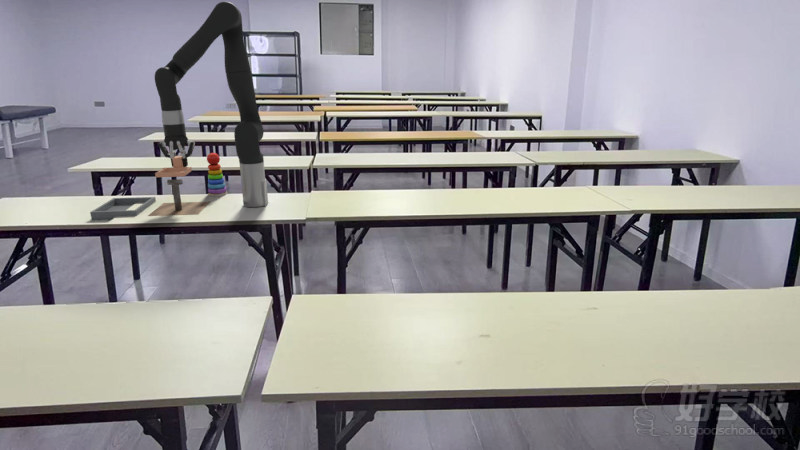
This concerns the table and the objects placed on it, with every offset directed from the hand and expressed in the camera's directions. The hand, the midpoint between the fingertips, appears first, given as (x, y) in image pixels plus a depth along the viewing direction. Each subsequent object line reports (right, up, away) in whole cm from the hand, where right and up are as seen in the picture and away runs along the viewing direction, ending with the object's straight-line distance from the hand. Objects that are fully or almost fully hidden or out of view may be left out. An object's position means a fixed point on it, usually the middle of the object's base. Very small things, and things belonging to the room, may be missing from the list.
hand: (180, 167), depth 199 cm
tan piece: (+1, -2, -5) cm, 6 cm away
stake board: (+1, -17, -1) cm, 17 cm away
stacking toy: (+7, -10, +21) cm, 24 cm away
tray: (-21, -17, -1) cm, 27 cm away
